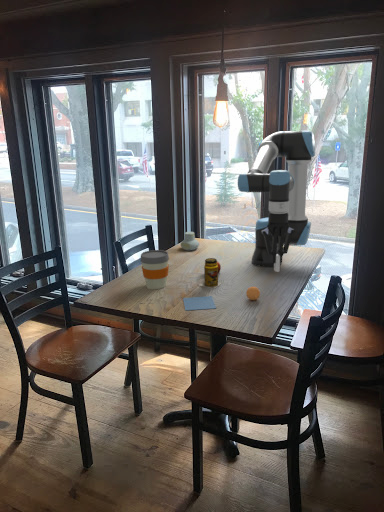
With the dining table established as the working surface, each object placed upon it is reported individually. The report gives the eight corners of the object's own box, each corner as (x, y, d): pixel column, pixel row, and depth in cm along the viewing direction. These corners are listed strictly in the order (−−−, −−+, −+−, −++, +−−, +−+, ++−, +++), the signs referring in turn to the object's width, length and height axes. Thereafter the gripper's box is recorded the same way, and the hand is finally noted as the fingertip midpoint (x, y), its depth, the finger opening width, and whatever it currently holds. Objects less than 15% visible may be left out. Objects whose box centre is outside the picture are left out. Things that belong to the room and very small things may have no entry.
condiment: (214, 288, 175) (214, 262, 172) (197, 285, 179) (197, 260, 176) (221, 283, 181) (221, 258, 178) (205, 280, 185) (204, 255, 182)
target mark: (211, 296, 167) (211, 296, 167) (216, 308, 156) (216, 308, 155) (183, 298, 166) (183, 298, 166) (185, 310, 155) (185, 310, 155)
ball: (258, 296, 165) (258, 284, 164) (261, 301, 160) (261, 289, 158) (244, 297, 165) (244, 285, 163) (247, 302, 160) (247, 290, 158)
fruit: (223, 274, 188) (214, 260, 186) (209, 282, 190) (200, 268, 189) (225, 269, 195) (217, 255, 194) (212, 276, 198) (203, 263, 197)
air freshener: (178, 249, 236) (177, 233, 233) (186, 246, 243) (186, 230, 240) (193, 252, 230) (193, 235, 227) (201, 248, 236) (201, 232, 234)
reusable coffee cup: (137, 285, 182) (134, 253, 178) (159, 278, 190) (157, 248, 185) (152, 293, 173) (150, 259, 169) (175, 285, 181) (174, 253, 176)
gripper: (264, 214, 149) (263, 274, 155) (298, 212, 150) (295, 272, 156) (259, 211, 156) (258, 268, 162) (292, 209, 157) (289, 266, 163)
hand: (276, 270), depth 159 cm, fingers closed
